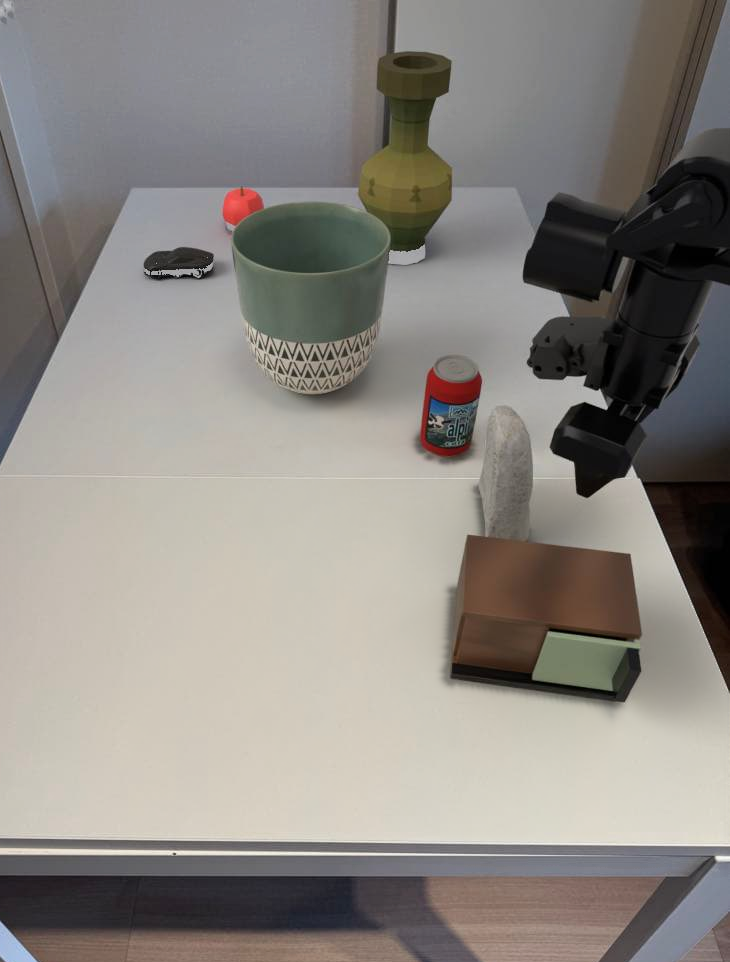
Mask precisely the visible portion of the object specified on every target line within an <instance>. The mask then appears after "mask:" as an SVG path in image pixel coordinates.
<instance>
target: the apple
mask: <svg viewBox="0 0 730 962" xmlns="http://www.w3.org/2000/svg"><path fill="white" fill-rule="evenodd" d="M262 209H265V206H264V202H263V198H262V197H261V195H260V194H259V193H258V192H257V191H255V190H253V189H250V188H243V186H240V188H236V189H233V190H231V191H228V192H227V193H226V195H225V196H224V200H223V205H222V217H223V220H224V222H225V221H226V222H228V223H230V224H232V225H234V226H236V225H237V224H238V223H239V222H240V221H241V220H243V219H244V218H245V217H247V216H249V215H250V214H252V213H254V212H257V211H259V210H262Z"/></svg>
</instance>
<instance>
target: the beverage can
mask: <svg viewBox="0 0 730 962" xmlns="http://www.w3.org/2000/svg"><path fill="white" fill-rule="evenodd" d="M482 386H483V378H482V375H481V373H480V371H479V365H478V364H477V362H476V361H475V360H473V359H472V358H470V357H468V356H465V355H461V354H447V355H446V354H445V355H443V356H441V357H439V358H437V359H436V360H435V362H434V364H433V366H432V367H431V368H430V369H429V371H428V372H427V374H426V379H425V389H424V396H423V406H422V413H421V421H420V422H421V425H420V433H419V441H420V444H421V445H422V447H423V448H424V449H425V450H426V451H427V452H429V453H431V454H433V455H436V456H440V457H447V458H448V457H449V458H450V457H456V456H460V455H462V454H464V453H466V452H467V451H468V450H469V449H470V447H471V445H472V442H473V441H472V440H473V438H474V437H473V436H474V432H475V426H476V420H477V415H478V409H479V403H480V398H481V393H482V392H481V391H482Z"/></svg>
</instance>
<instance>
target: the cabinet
mask: <svg viewBox="0 0 730 962" xmlns="http://www.w3.org/2000/svg"><path fill="white" fill-rule="evenodd" d="M634 575H635V574H634V568H633V561H632V555H631V553H629V552H628V553H626V552H619V551H609V550H602V549H595V548H586V547H585V548H584V547H577V546H569V545H560V544H551V543H544V542H534V541H527V540H526V541H518V540H510V539H501V538H493V537H485V536H484V535H477V534H476V535H474V534H466V539H465V543H464V549H463V554H462V558H461V563H460V569H459V574H458V578H457V583H456V584H457V585H456V590H455V602H454V615H453V631H452V633H453V634H452V647H451V662H450V663H451V665H450V679H452V680H453V679H454V680H459V681H466V682H474V683H481V684H487V685H488V684H489V685H496V686H503V687H509V688H516V689H517V688H518V689H523V690H524V689H525V690H532V691H539V692H545V693H552V694H559V695H567V696H573V697H580V698H588V699H594V700H595V699H596V700H603V701H610V702H615V701H614V697H613V691H609V690H602V689H595V688H588V687H580V686H573V685H566V684H559V683H551V682H544V681H537V680H533V679H532V675H533V672H534V669H535V666H536V663H537V661H538V658H539V655H540V652H541V649H542V647H543V644H544V641H545V638H546V635H547V632H548V631H550V632H557V633H565V634H572V635H580V636H588V637H595V638H603V639H611V640H618V641H626V642H633V643H635V641H636V640H637V641H639V640H641V638H642V636H643V632H642V623H641V617H640V610H639V604H638V597H637V591H636V590H637V589H636V583H635V576H634Z"/></svg>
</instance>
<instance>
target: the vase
mask: <svg viewBox="0 0 730 962" xmlns="http://www.w3.org/2000/svg"><path fill="white" fill-rule="evenodd" d="M452 62H453V61H452V60H451V59H449V58H448V57H446V56H444V55H442V54H437V53H432V52H428V51H412V50H405V51H398V52H391V53H388V54H385V55H383V56H381V57H378V62H377V67H376V68H377V69H376V90H377V91H379V92H380V93H381V94H383V95H384V96H387V99H388V104H389V109H390V110H389V111H390V116H391V117H390V118H391V119H390V131H389V132H390V134H389V144H388V145H386V146H385V147H383V148H382V149H381V150H379V151H378V152H377V153H375V154H374V155H372V156H371V157H370V158H368V159H367V160H365V161H364V162H363V163H362V167H361V171H360V176H359V183H358V190H357V196H358V198H359V200H360V202H361V204H362V205H363V207H364V209H365V211H366V212H368V213H370V214H372V215H374V216H376V217H377V218H378V219H380V220H381V221H382V222H383V223H384V224H385V225H386V226H387V228H388V230H389V232H390V236H391V242H390V250H393V251H400V252H401V251H406V252H408V251H411V250H416V249H419V248H420V247H421V246H423V245H424V244H425V242H426V237H427V236H428V234H429V232H430V231H431V230H432V229H433V227H434V226H435V224H436V223H437V221H438V220H439V218H440V217H441V216H442V215H443V213H444V212H445V210H446V209H447V208H448V206H449V205H450V204H451V202H452V201H453V199H452V198H453V167H451V166H450V164H448V163H447V162H446V161H445V160H444V159H443V158H442V157H441V156H440V155H439V154H438V153H437V152H435V151H434V150H433V148H431V147H430V146H429V145H428V144H429V134H430V133H429V132H430V119H431V116H432V113H433V110H434V107H435V103H436V101H437V98H440V97H442V96H444V95H446V94H448V93H449V92H450V83H451V82H450V81H451V75H452V65H453V64H452Z"/></svg>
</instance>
